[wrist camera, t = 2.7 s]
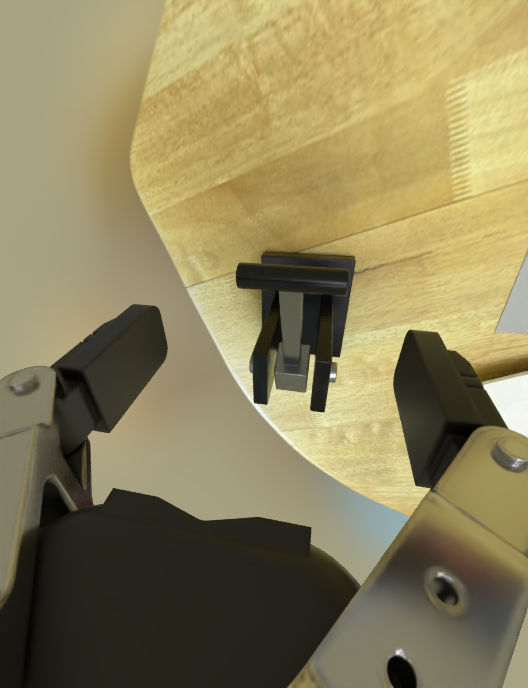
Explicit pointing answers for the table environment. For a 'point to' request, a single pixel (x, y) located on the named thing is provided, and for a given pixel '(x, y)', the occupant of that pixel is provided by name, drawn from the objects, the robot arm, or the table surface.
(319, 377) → the lever bracket
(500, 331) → the grey square pad
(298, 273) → the press lever
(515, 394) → the plate
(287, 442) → the table surface
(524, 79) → the table surface
